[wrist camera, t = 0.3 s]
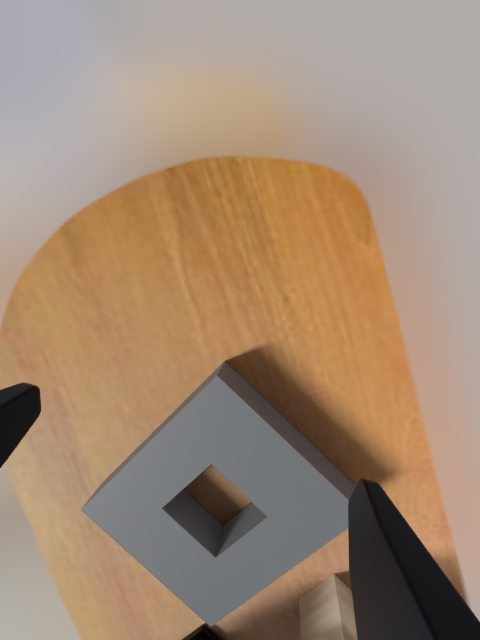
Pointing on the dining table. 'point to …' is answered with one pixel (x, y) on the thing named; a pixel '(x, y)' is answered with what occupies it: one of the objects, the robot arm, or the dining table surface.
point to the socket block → (246, 475)
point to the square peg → (327, 612)
